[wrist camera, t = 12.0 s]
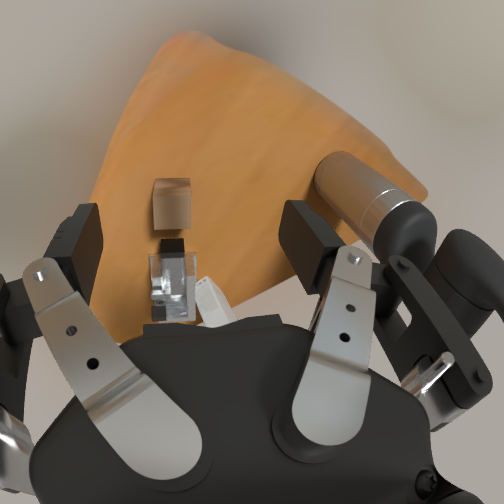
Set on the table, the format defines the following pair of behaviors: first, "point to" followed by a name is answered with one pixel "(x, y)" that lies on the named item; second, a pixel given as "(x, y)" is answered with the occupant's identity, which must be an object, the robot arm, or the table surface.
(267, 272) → the table surface
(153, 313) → the dark gray block
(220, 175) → the table surface
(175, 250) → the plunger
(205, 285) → the skincare box
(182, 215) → the walnut block
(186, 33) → the table surface
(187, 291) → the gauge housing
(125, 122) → the table surface
